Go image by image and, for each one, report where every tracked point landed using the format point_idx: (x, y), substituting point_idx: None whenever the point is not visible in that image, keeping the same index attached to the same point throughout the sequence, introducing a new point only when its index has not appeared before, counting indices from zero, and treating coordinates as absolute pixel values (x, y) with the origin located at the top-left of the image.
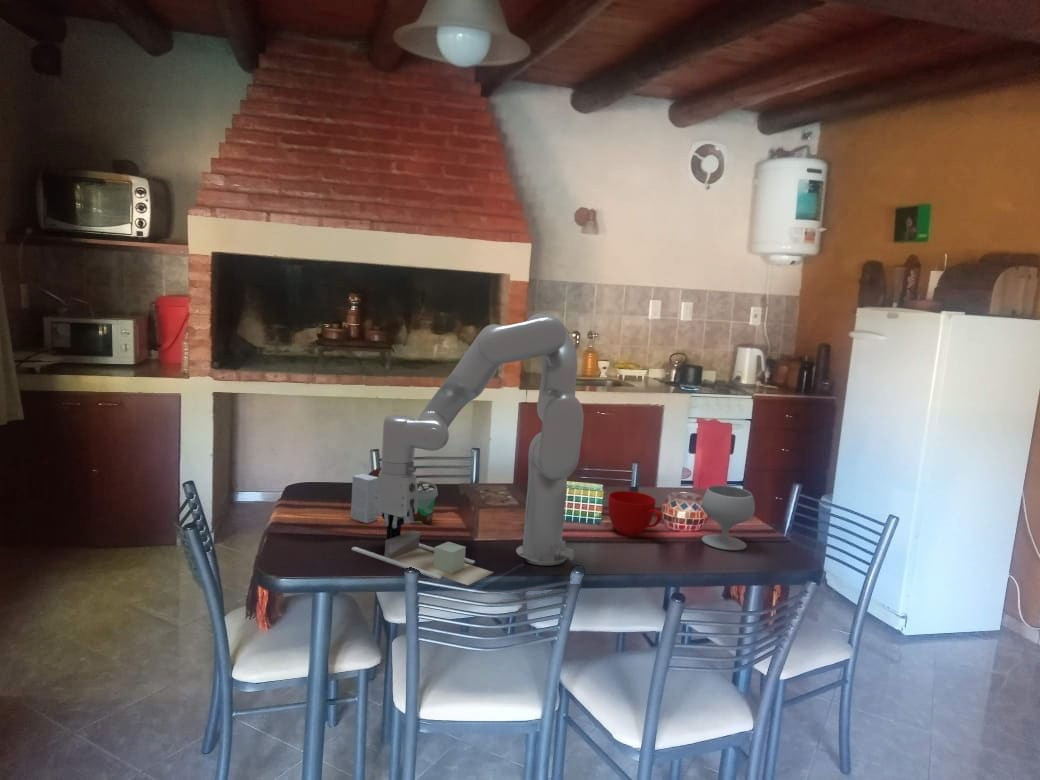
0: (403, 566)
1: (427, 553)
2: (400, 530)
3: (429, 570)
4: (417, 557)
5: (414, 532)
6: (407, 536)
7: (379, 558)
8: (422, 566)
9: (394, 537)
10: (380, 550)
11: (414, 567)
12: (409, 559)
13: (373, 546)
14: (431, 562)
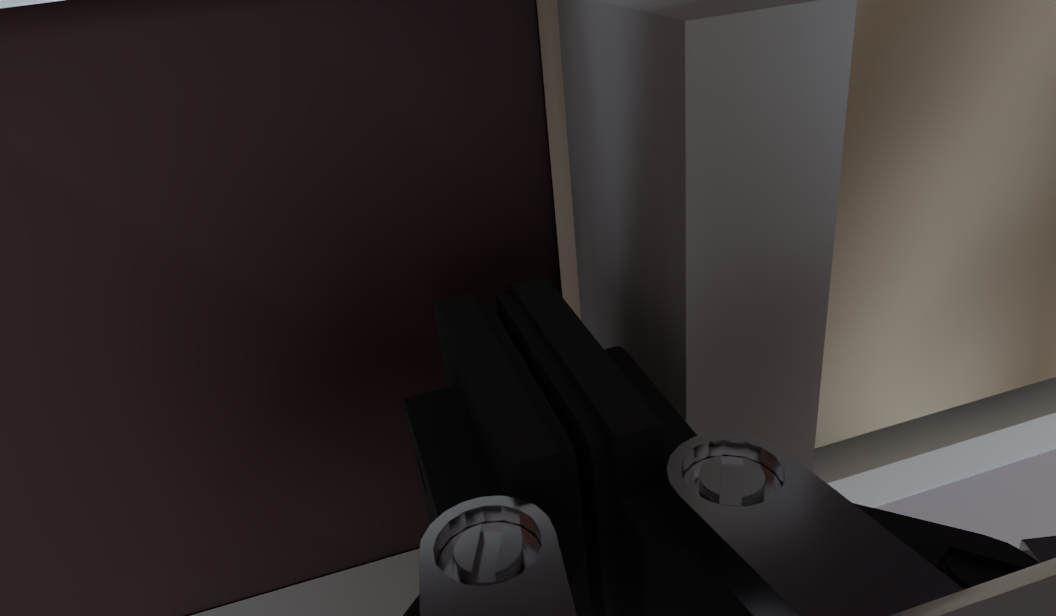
0: (901, 494)
1: (884, 26)
2: (684, 427)
3: None
4: (861, 229)
5: (784, 104)
6: (811, 347)
7: None
8: (1013, 334)
9: None
10: (245, 342)
11: (999, 440)
12: (826, 337)
13: (33, 341)
14: (1044, 195)
